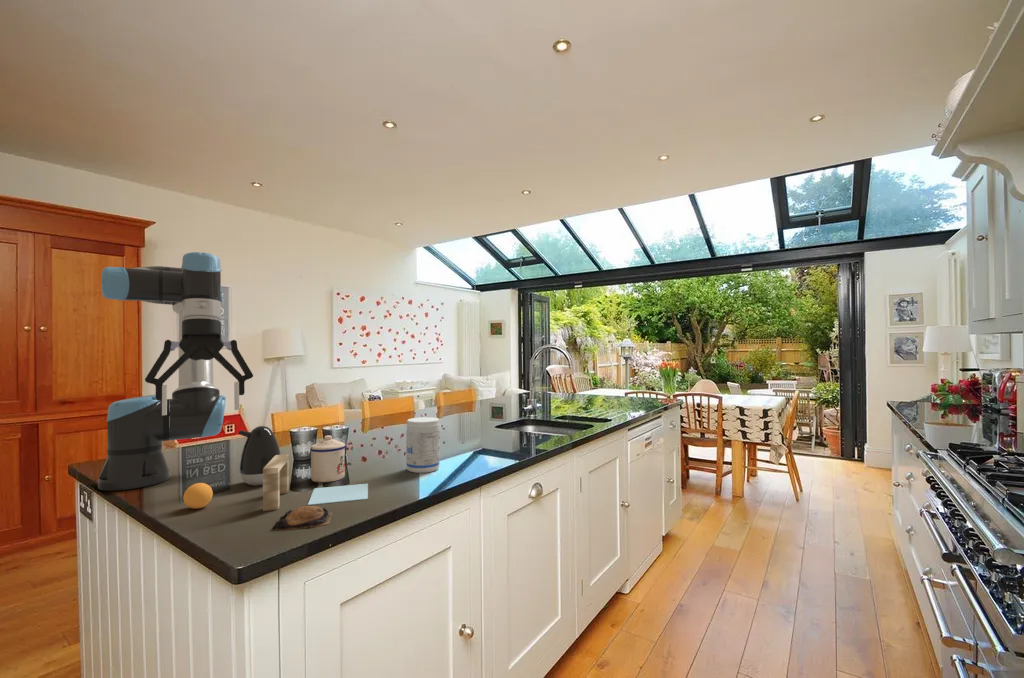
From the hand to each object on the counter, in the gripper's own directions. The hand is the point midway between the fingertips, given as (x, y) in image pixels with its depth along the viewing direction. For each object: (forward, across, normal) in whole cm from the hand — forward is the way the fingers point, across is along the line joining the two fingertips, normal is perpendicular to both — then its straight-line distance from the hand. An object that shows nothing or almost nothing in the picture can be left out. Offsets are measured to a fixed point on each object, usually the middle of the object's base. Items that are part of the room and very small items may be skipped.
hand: (202, 412), depth 104 cm
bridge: (+22, +14, -2) cm, 26 cm away
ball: (+18, -1, +3) cm, 19 cm away
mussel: (+24, +17, -20) cm, 36 cm away
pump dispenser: (+20, +13, +17) cm, 30 cm away
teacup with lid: (+21, +30, +12) cm, 38 cm away
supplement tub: (+22, +54, +3) cm, 58 cm away
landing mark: (+22, +28, -6) cm, 36 cm away
